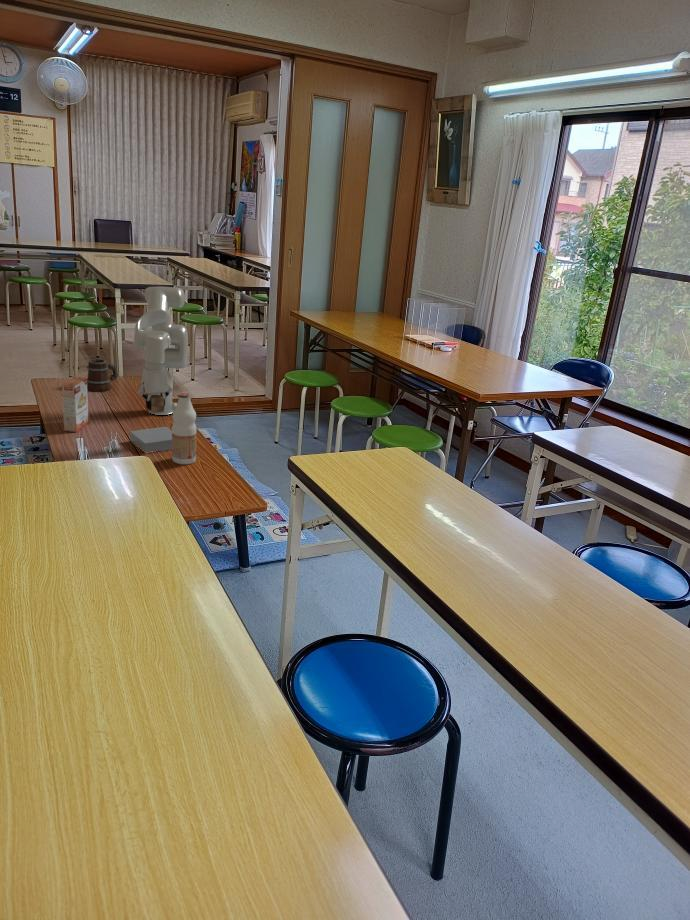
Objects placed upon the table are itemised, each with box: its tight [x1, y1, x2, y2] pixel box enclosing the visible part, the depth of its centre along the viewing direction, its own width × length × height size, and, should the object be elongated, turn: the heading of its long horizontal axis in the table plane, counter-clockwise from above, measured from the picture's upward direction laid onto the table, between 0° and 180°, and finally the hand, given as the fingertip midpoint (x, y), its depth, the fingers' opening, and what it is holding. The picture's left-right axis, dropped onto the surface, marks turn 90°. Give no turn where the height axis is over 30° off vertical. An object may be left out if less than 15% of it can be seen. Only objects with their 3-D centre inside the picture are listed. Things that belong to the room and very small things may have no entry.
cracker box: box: [61, 376, 89, 433], centre depth 293 cm, size 14×6×21 cm, turn 179°
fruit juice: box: [171, 391, 197, 465], centre depth 267 cm, size 9×9×28 cm
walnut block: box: [148, 394, 164, 413], centre depth 279 cm, size 5×5×6 cm
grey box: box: [129, 426, 172, 452], centre depth 285 cm, size 16×16×5 cm
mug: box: [86, 358, 118, 393], centre depth 351 cm, size 16×12×15 cm
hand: (155, 408), depth 280 cm, fingers closed on walnut block, 5 cm apart
